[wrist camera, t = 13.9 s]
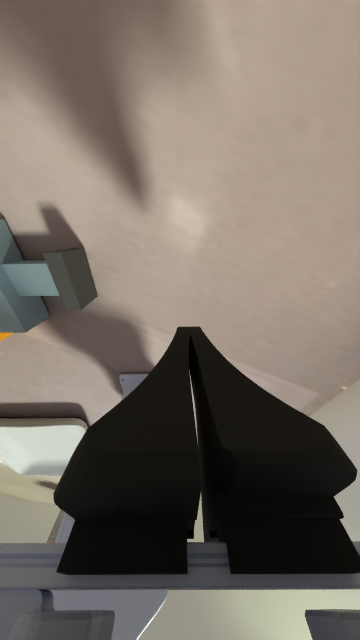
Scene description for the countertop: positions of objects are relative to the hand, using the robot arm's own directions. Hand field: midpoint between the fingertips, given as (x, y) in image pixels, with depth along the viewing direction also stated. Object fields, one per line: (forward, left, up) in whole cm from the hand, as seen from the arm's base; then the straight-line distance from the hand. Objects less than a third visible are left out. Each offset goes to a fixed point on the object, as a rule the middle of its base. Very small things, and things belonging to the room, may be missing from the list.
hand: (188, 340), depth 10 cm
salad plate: (-33, +28, -10) cm, 44 cm away
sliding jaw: (+2, +15, -9) cm, 17 cm away
